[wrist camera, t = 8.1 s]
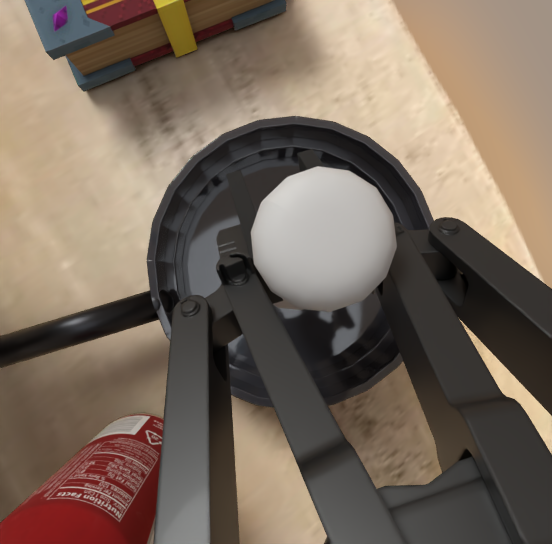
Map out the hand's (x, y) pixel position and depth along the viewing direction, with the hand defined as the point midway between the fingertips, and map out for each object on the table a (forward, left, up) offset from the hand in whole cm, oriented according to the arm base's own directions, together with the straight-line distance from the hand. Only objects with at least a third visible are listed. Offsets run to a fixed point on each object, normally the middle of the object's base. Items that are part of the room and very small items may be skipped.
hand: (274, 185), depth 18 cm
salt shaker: (+3, -3, -5) cm, 6 cm away
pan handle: (-8, -12, -4) cm, 15 cm away
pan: (+3, -3, -6) cm, 7 cm away
